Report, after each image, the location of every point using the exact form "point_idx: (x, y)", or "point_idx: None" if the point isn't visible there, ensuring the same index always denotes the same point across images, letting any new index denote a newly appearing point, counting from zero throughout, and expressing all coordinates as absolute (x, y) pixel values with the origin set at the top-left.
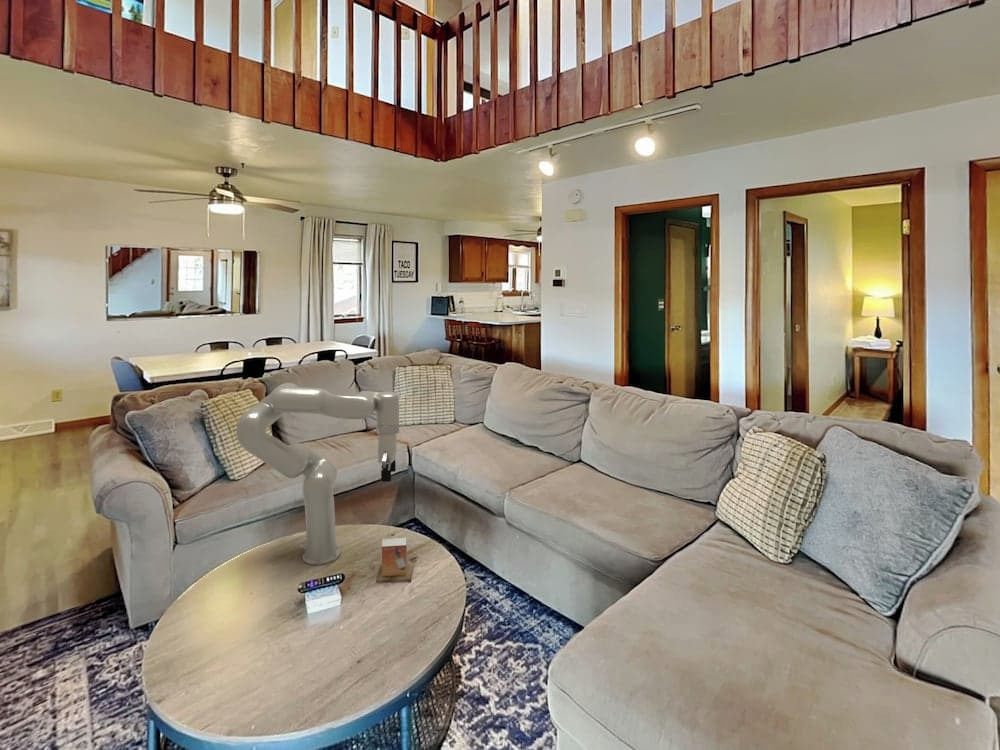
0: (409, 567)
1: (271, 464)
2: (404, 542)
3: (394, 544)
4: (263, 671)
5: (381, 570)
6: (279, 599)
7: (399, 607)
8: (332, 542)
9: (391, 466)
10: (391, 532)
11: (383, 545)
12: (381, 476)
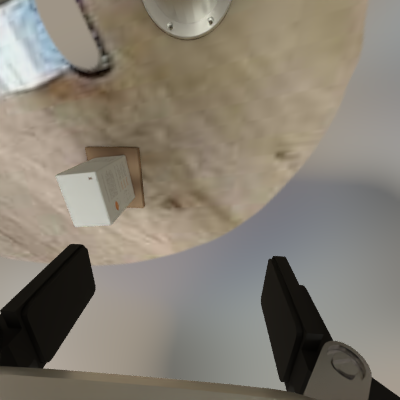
0: (132, 202)
1: None
2: (84, 223)
3: (70, 203)
4: None
5: (117, 153)
6: None
7: (29, 193)
8: (163, 3)
9: (272, 316)
10: (292, 150)
11: (60, 179)
12: (48, 266)
